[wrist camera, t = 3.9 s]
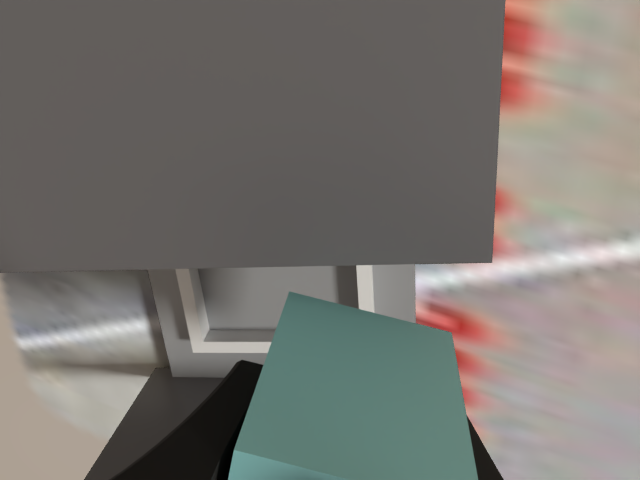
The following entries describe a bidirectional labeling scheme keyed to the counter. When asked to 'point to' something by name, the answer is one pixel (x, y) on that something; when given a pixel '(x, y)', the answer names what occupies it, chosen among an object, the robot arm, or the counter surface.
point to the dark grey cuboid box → (247, 133)
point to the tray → (233, 335)
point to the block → (355, 401)
